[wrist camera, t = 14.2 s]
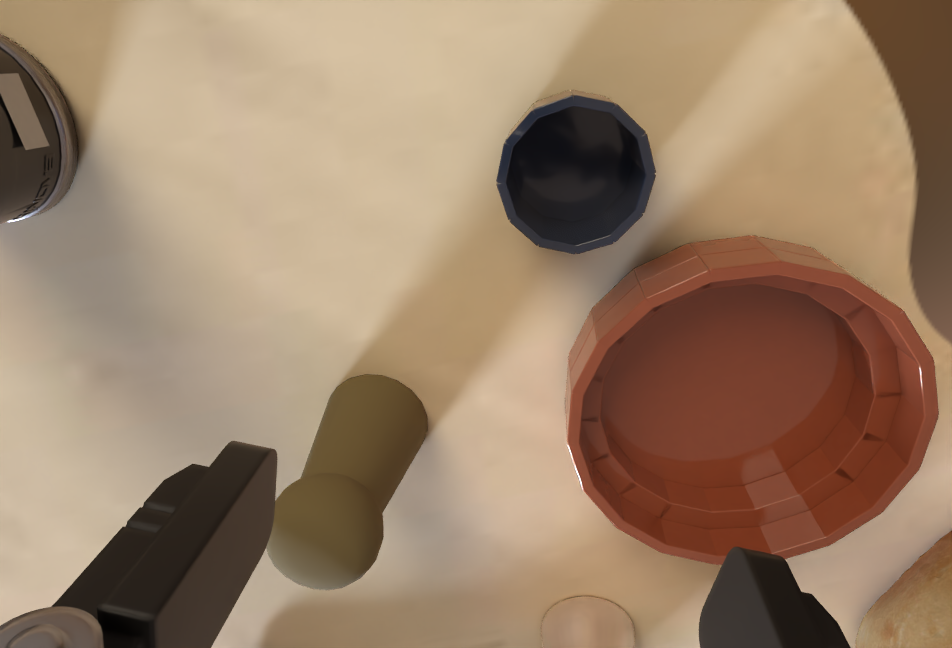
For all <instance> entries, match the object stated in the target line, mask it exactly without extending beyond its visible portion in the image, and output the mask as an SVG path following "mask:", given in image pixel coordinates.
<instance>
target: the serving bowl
mask: <svg viewBox="0 0 952 648" xmlns="http://www.w3.org/2000/svg"><path fill="white" fill-rule="evenodd" d="M565 413H566V433H567V445H568V448H569V451H570V454H571V457H572V460H573V463H574V466H575V468H576V471H577V474H578V477H579V480H580V483H581V486H582V489H583V490H584V492H585V493H586V494H587V495H588V496H589V497H590V498H591V500H592V501H593V502H594V503H595V504H596V505H597V506H598V508H599V509H600V510H601V511H602V512H603V513H604V514H605V516H606V517H607V518H608V519H609V520H610V521H611V522H612V524H613V525H614V526H615V527H616V528H618V529H620V530H621V531H623V532H625V533H627V534H629V535H630V536H632V537H634V538H636V539H637V540H639V541H641V542H643V543H645V544H646V545H648V546H650V547H652V548H654V549H655V550H657V551H659V552H662V553H665V554H669V555H674V556H678V557H683V558H687V559H692V560H696V561H701V562H705V563H710V564H716V565H723V562H724V560H725V558H726V556H727V554H728V552H729V551H730V550H731V549H732V548H733V547H741V548H746V549H751V550H756V551H761V552H766V553H770V554H775V555H779V556H781V557H783V558H784V559H787V558H790V557H793V556H797V555H800V554H803V553H806V552H810V551H813V550H816V549H819V548H823V547H826V546H829V545H831V544H833V543H835V542H836V541H838V540H839V539H841V538H843V537H844V536H846V535H847V534H849V533H851V532H852V531H854V530H855V529H857V528H858V527H860V526H862V525H863V524H865V523H866V522H868V521H870V520H871V519H873V518H874V517H876V516H878V515H879V514H881V512H883V511H884V510H885V509H886V508H887V506H888V505H889V504H890V503H891V502H892V501H893V499H894V498H895V497H896V496H897V495H898V494H899V492H900V491H901V490H902V489H903V488H904V487H905V485H906V484H907V483H908V482H909V481H910V479H911V478H912V477H913V476H914V475H915V474H916V472H917V471H918V470H919V468H920V467H921V464H922V461H923V458H924V455H925V453H926V450H927V447H928V444H929V442H930V439H931V436H932V433H933V430H934V428H935V425H936V422H937V419H938V415H939V411H938V399H937V388H936V377H935V366H934V360H933V357H932V356H931V354H930V352H929V351H928V349H927V348H926V346H925V344H924V343H923V341H922V340H921V338H920V336H919V335H918V333H917V332H916V330H915V328H914V327H913V325H912V323H911V322H910V320H909V319H908V317H907V315H906V314H905V312H904V311H903V310H902V309H901V308H899V307H898V306H897V305H895V304H894V303H892V302H891V301H890V300H888V299H887V298H885V297H884V296H883V295H881V294H880V293H879V292H877V291H876V290H874V289H873V288H872V287H870V286H869V285H867V284H866V283H865V282H863V281H862V280H860V279H859V278H858V277H856V276H854V275H853V274H851V273H850V272H848V271H847V270H845V269H844V268H842V267H841V266H839V265H838V264H836V263H835V262H833V261H832V260H830V259H829V258H827V257H825V256H824V255H822V254H821V253H819V252H818V251H816V250H815V249H813V248H811V247H806V246H801V245H797V244H792V243H787V242H782V241H777V240H773V239H768V238H763V237H758V236H742V237H734V238H726V239H718V240H710V241H702V242H694V243H690V244H689V243H688V244H686V245H684V246H681V247H679V248H677V249H675V250H673V251H671V252H669V253H666V254H664V255H662V256H660V257H658V258H656V259H654V260H651V261H649V262H647V263H645V264H643V265H641V266H639V267H637V268H634V270H632V271H631V272H630V273H629V274H628V275H626V276H625V277H624V278H623V279H622V280H621V281H620V282H619V283H618V284H617V285H616V286H615V287H614V288H613V289H612V290H611V291H610V292H609V293H607V294H606V295H605V296H604V297H603V298H602V299H601V300H600V301H599V302H598V303H597V304H596V305H595V306H594V307H593V308H592V310H591V311H590V313H589V315H588V317H587V319H586V321H585V323H584V325H583V327H582V329H581V331H580V333H579V335H578V337H577V339H576V341H575V343H574V345H573V347H572V349H571V351H570V353H569V356H568V367H567V380H566V393H565Z"/></svg>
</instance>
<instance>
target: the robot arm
mask: <svg viewBox="0 0 952 648" xmlns="http://www.w3.org/2000/svg"><path fill="white" fill-rule="evenodd" d="M77 158H78V147H77V138H76V132H75V127H74V124H73V120H72V117H71V114H70V112H69V109H68V107H67V105H66V102H65V100H64V98H63V96H62V95H61V93H60V91H59V89H58V88H57V86H56V85H55V83H54V81H53V80H52V79H51V77H50V76H49V75H48V73H47V72H46V71H45V70H44V69H43V67H42V66H41V65H40V64H39V63H38V62H37V61H36V60H35V59H34V58H33V57H32V56H31V55H30V54H29V53H28V52H26V51H25V50H24V49H23V48H21V47H20V46H19V45H17V44H16V43H15V42H13V41H11V40H10V39H8V38H7V37H5V36H3V35H1V34H0V224H2V223H5V222H12V221H18V220H22V219H25V218H28V217H32V216H35V215H38V214H41V213H43V212H45V211H47V210H49V209H51V208H52V207H53V206H55V205H56V204H57V203H58V202H59V201H60V200H61V199H62V198H63V197H64V196H65V194H66V193H67V191H68V190H69V188H70V186H71V184H72V182H73V179H74V176H75V172H76V167H77ZM276 474H277V452H276V450H275V449H271V448H266V447H261V446H256V445H251V444H247V443H242V442H237V441H231V442H230V443H228V444H227V446H226V447H225V448H224V449H223V450H222V452H221V453H220V454H219V455H218V457H217V458H216V459H215V460H214V462H213V463H212V464H211V465H210V467H206V466H201V465H197V464H191V465H190V466H188V467H186V468H185V469H183V470H181V471H179V472H178V473H176V474H174V475H172V476H171V477H169V478H167V479H165V480H164V481H163V482H162V483H161V484H160V485H159V487H158V488H157V489H156V490H155V491H154V492H153V493H152V494H151V496H150V497H149V498H148V499H147V500H146V501H145V502H144V505H143V507H142V508H139V509H138V510H137V511H136V512H135V514H134V515H133V516H132V517H131V518H130V519H129V520H128V522H127V525H126V527H122V528H121V529H120V531H119V532H118V533H117V534H116V535H115V536H114V537H113V538H112V540H111V541H110V542H109V543H108V544H107V545H106V546H105V548H104V549H103V550H102V551H101V552H100V553H99V554H98V555H97V557H96V558H95V559H94V560H93V561H92V562H91V563H90V564H89V566H88V567H87V568H86V569H85V570H84V571H83V572H82V573H81V575H80V576H79V577H78V578H77V579H76V580H75V581H74V583H73V584H72V585H71V586H70V587H69V588H68V589H67V590H66V592H65V593H64V594H63V595H62V596H61V597H60V598H59V599H58V600H57V601H56V603H55V604H54V605H53V606H52V607H48V608H43V609H38V610H34V611H31V612H28V613H25V614H23V615H20V616H18V617H16V618H13V619H11V620H10V621H8V622H6V623H4V624H3V625H1V626H0V648H211V647H212V645H213V643H214V641H215V639H216V638H217V636H218V634H219V632H220V630H221V629H222V627H223V625H224V623H225V621H226V620H227V618H228V616H229V614H230V612H231V611H232V609H233V607H234V605H235V603H236V602H237V600H238V598H239V596H240V594H241V593H242V591H243V589H244V587H245V585H246V584H247V582H248V580H249V578H250V576H251V575H252V573H253V571H254V569H255V567H256V566H257V564H258V562H259V560H260V558H261V557H262V555H263V553H264V551H265V549H266V546H267V544H268V541H269V538H270V534H271V531H272V527H273V521H274V510H275V492H276ZM699 641H700V647H701V648H850V646H849V644H848V642H847V640H846V638H845V636H844V634H843V632H842V630H841V628H840V627H839V625H838V623H837V622H836V621H835V619H834V618H833V617H832V616H831V615H830V614H829V613H828V612H827V611H826V609H825V608H824V607H823V606H822V605H821V604H820V603H819V602H818V601H817V600H816V598H815V597H814V596H813V595H812V594H809V593H804V592H801V591H800V588H799V586H798V584H797V582H796V580H795V578H794V576H793V574H792V572H791V570H790V568H789V566H788V564H787V562H786V561H785V559H784V558H783V557H781V556H779V555H775V554H770V553H766V552H761V551H756V550H751V549H746V548H741V547H733V548H732V549H731V550H730V551H729V552H728V554H727V556H726V558H725V560H724V562H723V565H722V567H721V569H720V571H719V573H718V576H717V578H716V580H715V582H714V584H713V587H712V589H711V591H710V593H709V595H708V597H707V600H706V602H705V604H704V606H703V609H702V612H701V616H700V622H699Z"/></svg>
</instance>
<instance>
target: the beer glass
mask: <svg viewBox="0 0 952 648" xmlns="http://www.w3.org/2000/svg"><path fill="white" fill-rule="evenodd" d="M541 638H542V643H543V648H634V644H635V632H634V626H633V623H632V621H631V619H630V617H629V616H628V614H627V613H626V612H625V611H624V610H623V609H622V608H620V607H619V606H617V605H616V604H614V603H612V602H610V601H607V600H605V599H601V598H597V597H590V596H580V597H573V598H569V599H566V600H563V601H561V602H559V603H557V604H555V605H554V606H553V607H551V608H550V609H549V610H548V611H547V613H546V614H545V616H544V618H543V620H542V624H541Z"/></svg>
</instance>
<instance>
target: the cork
mask: <svg viewBox="0 0 952 648" xmlns="http://www.w3.org/2000/svg"><path fill="white" fill-rule="evenodd" d="M426 433H427V415H426V413H425V410H424V408H423V405H422V403H421V401H420V400H419V399H418V398H417V396H416V395H415V394H414V393H413V392H412V390H410V389H409V388H407V387H406V386H404V385H403V384H402V383H400V382H399V381H397V380H394V379H391V378H388V377H385V376H382V375H362V376H358V377H353V378H350V379H348V380H347V381H345V382H344V383H342V384H341V385H339V386H338V387H337V388H336V390H335V391H334V392H333V394H332V395H331V396H330V398H329V401H328V404H327V406H326V409H325V412H324V415H323V418H322V420H321V423H320V426H319V429H318V431H317V434H316V437H315V440H314V443H313V445H312V448H311V451H310V454H309V456H308V459H307V462H306V465H305V467H304V470H303V473H302V476H301V479H299V480H297V481H295V482H294V483H292V484H291V485H289V486H288V487H287V488H286V489H285V490H284V491H283V492H282V493H281V494H280V496H279V497H278V498H277V500H276V501H275V510H274V521H273V527H272V531H271V534H270V538H269V541H268V544H267V546H266V547H267V552H268V555H269V557H270V559H271V560H272V562H273V564H274V566H275V567H276V568H277V569H278V570H279V571H280V572H281V573H282V574H283V575H284V576H285V577H287V578H289V579H290V580H292V581H294V582H295V583H297V584H299V585H302V586H305V587H308V588H311V589H319V590H332V589H338V588H343V587H345V586H347V585H349V584H351V583H353V582H354V581H356V580H358V579H360V578H361V577H362V576H363V575H364V574H365V573H366V572H367V571H368V570H369V568H370V567H371V566H372V565H373V563H374V562H375V560H376V558H377V555H378V553H379V550H380V547H381V544H382V540H383V515H382V513H383V511H384V509H385V508H386V506H387V504H388V502H389V501H390V499H391V497H392V495H393V494H394V492H395V490H396V489H397V487H398V485H399V483H400V482H401V480H402V478H403V476H404V475H405V473H406V471H407V469H408V468H409V466H410V464H411V463H412V461H413V459H414V457H415V456H416V454H417V452H418V450H419V449H420V447H421V445H422V444H423V441H424V438H425V436H426Z"/></svg>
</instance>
